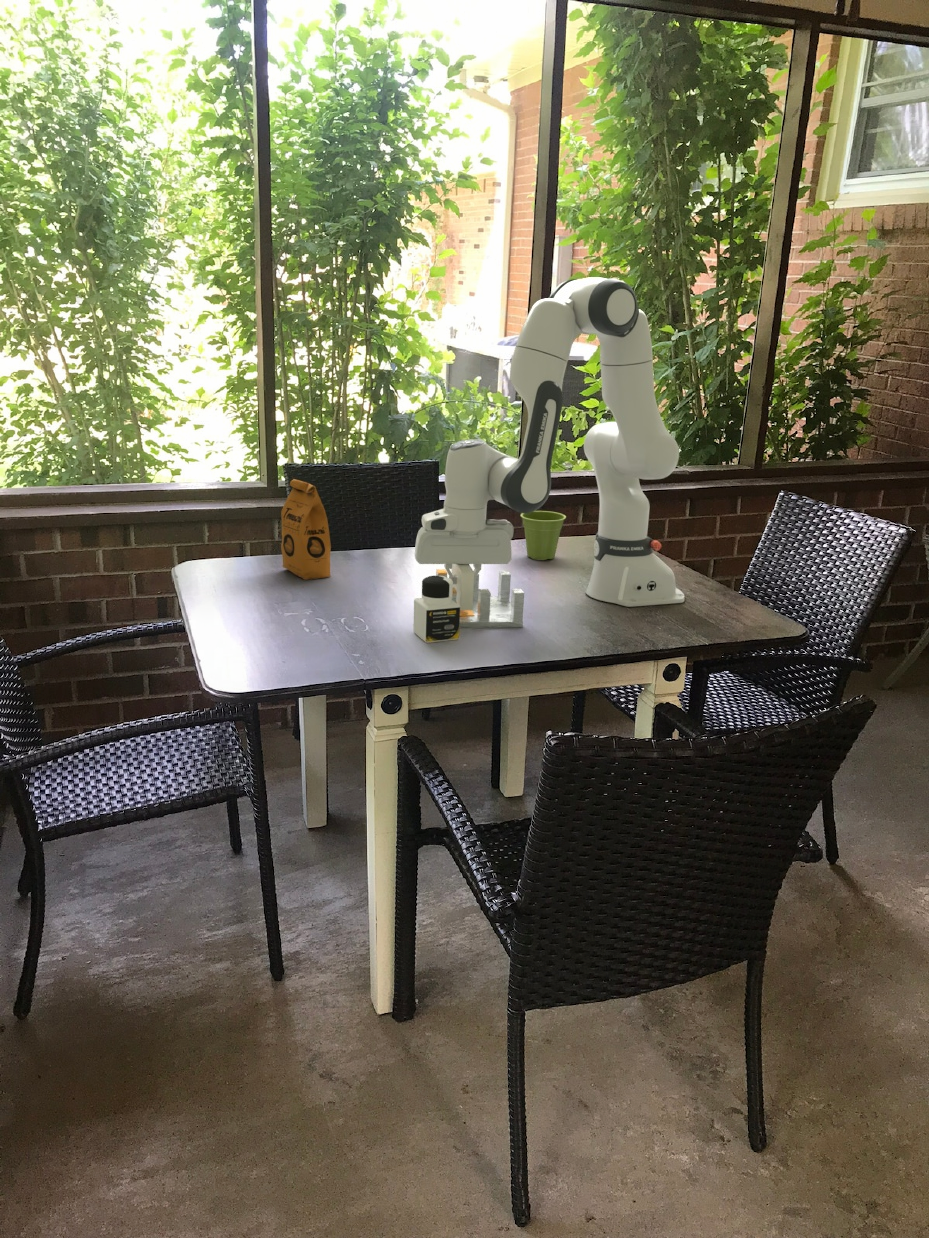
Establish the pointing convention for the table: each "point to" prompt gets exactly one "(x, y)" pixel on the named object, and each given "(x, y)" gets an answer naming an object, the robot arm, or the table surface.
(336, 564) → the table surface
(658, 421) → the robot arm
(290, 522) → the coffee package
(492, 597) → the panel rack
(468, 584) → the panel
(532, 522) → the plant pot
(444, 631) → the medicine bottle
